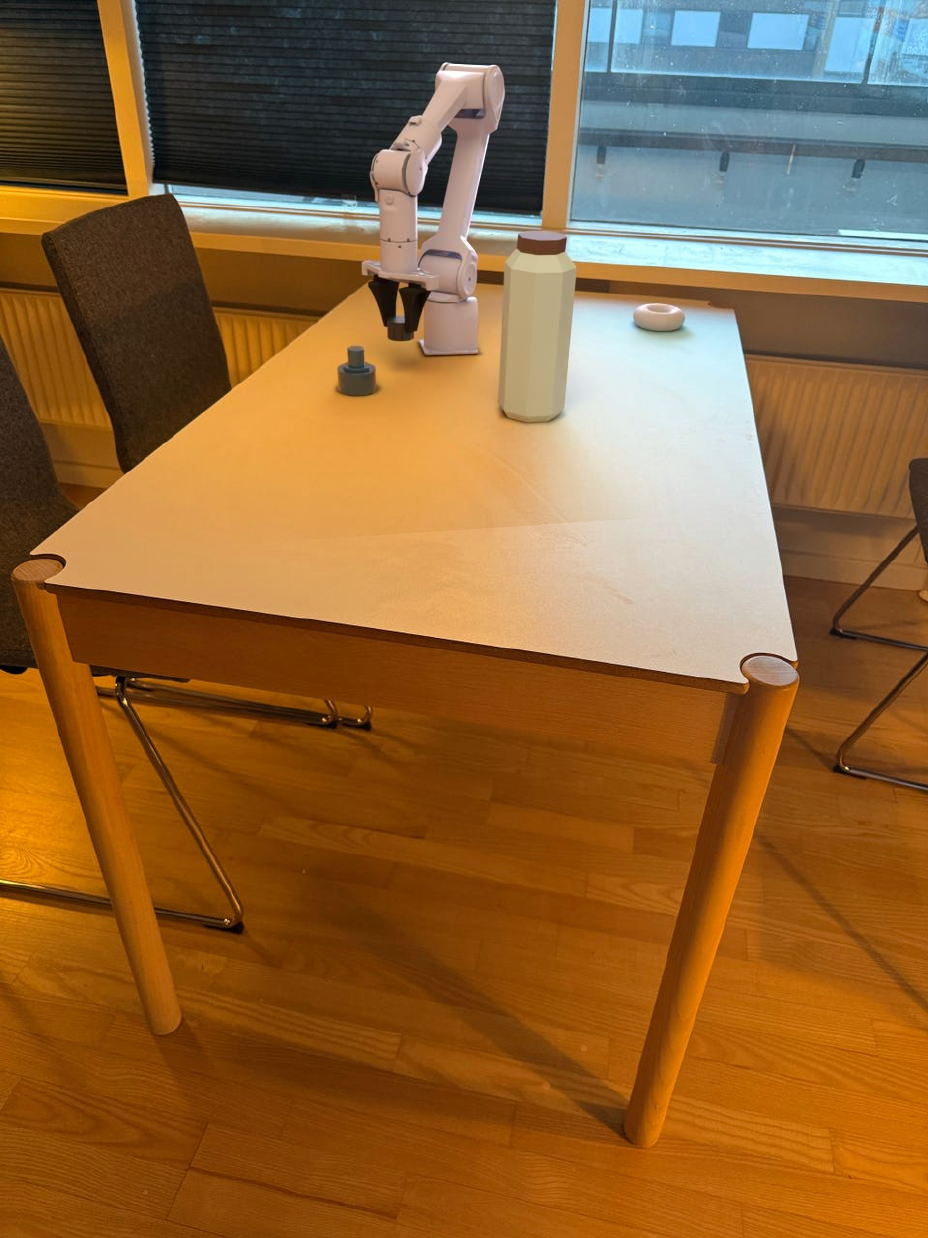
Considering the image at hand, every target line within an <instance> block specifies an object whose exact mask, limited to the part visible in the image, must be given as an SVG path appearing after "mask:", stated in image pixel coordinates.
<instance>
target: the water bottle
mask: <svg viewBox="0 0 928 1238" xmlns="http://www.w3.org/2000/svg"><path fill="white" fill-rule="evenodd" d="M567 242H568V236H567V235H565V234H564V233H562V232H557V231H549V230H526V231H523V232H520V233H518V234H517V240H516V249H515V250H514V251H512V253H511V254H510V255H509V257H508V258H506V260H505V261H504V267H503V289H502V309H501V311H502V312H501V314H502V315H501V333H500V334H501V335H500V337H501V338H500V354H499V356H500V357H499V376H498V393H497V394H498V395H497V397H498V399H497V402H498V404H499V405H500V407H501V409H502V411H503V412H504V413H505V416H506V417H507V418H508V419H510V420H515V421H519V422H523V423H525V424H526V423H527V424H528V423H530V424H531V423H545V422H546V423H547V422H549V421H551V420H553V419H554V418H556V417H557V416H558V415H560V413H561V412H562V411H563V410H564V408H565V403H566V402H565V401H566V391H567V381H568V369H569V361H570V360H569V359H570V358H569V357H570V348H571V347H570V346H571V338H572V337H571V335H572V326H573V325H572V324H573V314H574V304H575V303H574V302H575V292H576V281H577V272H578V271H577V270H578V269H577V268H578V266H577V265H576V264H575V263H574V262H573V260H572V259H571V257H570V256H569V255H568V253H567V252H566V249H567Z"/></svg>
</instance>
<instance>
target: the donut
mask: <svg viewBox="0 0 928 1238" xmlns="http://www.w3.org/2000/svg"><path fill="white" fill-rule="evenodd" d="M632 319H633V321H634V323H635V325H636V326H638V327H640V328H641V329H644V330H647V331H648V330H649V331H654V332H670V331H671V332H672V331H675V330H678V329H680V328H682V326H683V325H684V323H685V320H686V316H685V313H684V311H683V310H682V309H680V308H679V307H677V306H674V305H671V304H665V303H646V304H641V305H639V306H638V307H636V309H635V310H634V311H633V313H632Z"/></svg>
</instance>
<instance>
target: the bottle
mask: <svg viewBox="0 0 928 1238" xmlns="http://www.w3.org/2000/svg"><path fill="white" fill-rule="evenodd" d="M346 353H347V361H346V362H344V363H341V364H339V365H338V366H337V367H336V368H337V369H336V374H337V391H338V392H339V393H341V394H343V395H346V396H352V397H353V396H354V397H362V396H367V395H371V394H374V393H375V392H376V391H377V368H376V366H375V365H374V364H372V363H369V362H368V361H365V347H363V346H362V345H351V346H348V347H347V348H346Z"/></svg>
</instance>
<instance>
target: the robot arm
mask: <svg viewBox="0 0 928 1238" xmlns="http://www.w3.org/2000/svg"><path fill="white" fill-rule="evenodd" d="M434 81H435V82H434V93H433V95H432V97H431V99H430V101H429V103H428V104H427V106H426V107H425V110H424V112H422V113H423V114H422V115H415V116H411V117H410V118H409V120H408V122H407V123H406V124H405V126H404V127H403V129H402V130H401V132H400V133H399V135H398V136H397V137H396V139H395V140H394V141H393V142H392V144H391V146H390V147H389V148H388V149H381V150H380V151H379V152H377V153H376V154H375V156H374V157H373V159H372V162H371V167H370V168H371V169H370V172H369V179H370V183H371V187H372V188H373V191H374V201H375V202H376V205H378V210H379V211H378V212H379V213H378V214H379V244H380V245H379V247H380V248H379V249H380V261H375V260H371V259H369V260H365V261H362V262H361V275H362V276H372V277H373V278H372V280H369V281H368V282H367V287H368V289H369V291H370V292H371V294H372V296H373V297H374V300H375V302H376V304H377V307H378V310H379V314H380V317H381V321H382V325H383V327H385V328H387V319H388V318H389V317H393V316H397V301H398V293H399V296H400V298H401V303H402V307H403V316H404V319H405V330H406V333H412V332H414V333H415V332H418V330H419V325H420V321H421V317H422V313H423V338H422V339H419V341H418V342H419V344H420V347H421V349H422V352H423V354H424V355H425V356H445V355H446V356H450V355H475V354H476V355H477V354H479V350H478V348H479V347H478V346H479V314H480V313H479V304H478V299H477V297H475V296H471V295H472V294H473V293H474V292H475V289H476V287H477V286H476V285H477V282H478V262H479V256H478V254H477V252H476V251H475V249H474V248H473V247H472V245H471V244H470V243H469V242H468V236H469V235H468V234H469V231H470V226H471V221H472V218H473V212H474V207H475V204H476V198H477V194H478V188H479V185H480V179H481V175H482V171H483V168H484V167H483V166H484V162H485V157H486V152H487V148H488V143H489V140H490V139H489V138H490V134H491V133H493V132H495V131H496V130H497V129H498V125H499V121H500V118H501V115H502V110H503V105H504V100H505V95H506V89H505V81H504V75H503V72H502V71H501V68H500V67H499V66H498V65H496V64H491V65H479V64H478V65H477V64H459V63H458V64H457V63H456V64H455V63H451V62H444V63H443V64H442V65H441V66H440V68H439V70H438V71H437V73H436V74H435V80H434ZM447 126H448V127H449V128H451V129H452V130H453V131H455V132H456V135H457V138H456V142H455V148H454V154H453V158H452V162H451V167H450V172H449V177H448V180H447V181H448V182H447V185H446V191H445V194H444V195H445V196H444V200H443V205H442V210H441V214H440V219H439V223H438V228H437V232H436V234H434V235H432V236H431V237H430V238H428V239H427V240H426V241H424V242H423V243H422V244H421V248H420V251H419V254H418V194H420V193H421V192H422V190H423V188H424V185H425V180H426V175H427V173H428V169H429V167H428V165H429V164H430V162H431V161H432V159H433V158H434V157H435V155H436V154H437V152H438V151H439V149H440V148H441V145H442V140H443V139H442V132H443V131H444V130H445V128H446V127H447ZM400 283H401V284H406V285H407V286H403V287H400Z"/></svg>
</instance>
